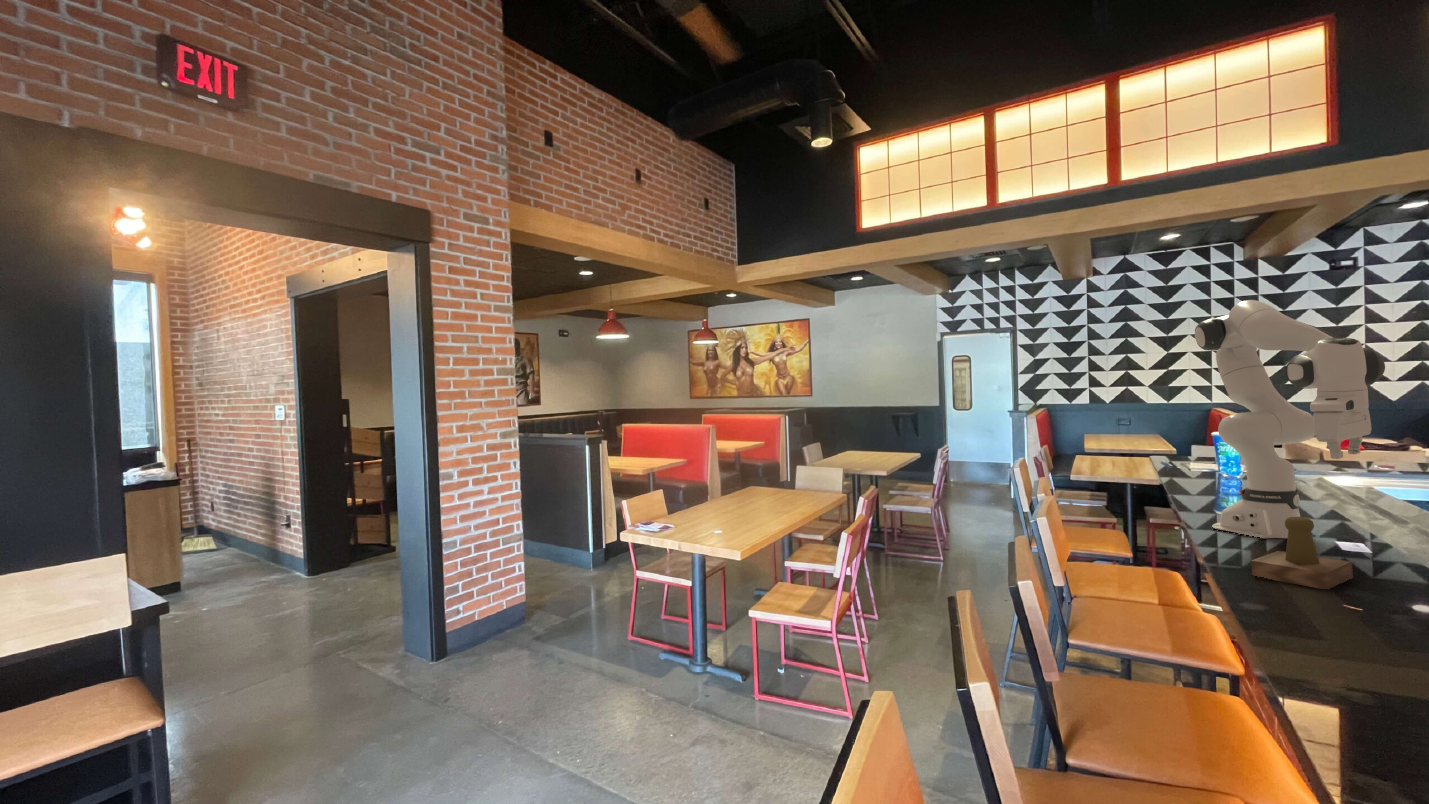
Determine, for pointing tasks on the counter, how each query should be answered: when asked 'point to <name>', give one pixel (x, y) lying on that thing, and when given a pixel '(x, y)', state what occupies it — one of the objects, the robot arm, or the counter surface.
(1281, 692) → the counter surface
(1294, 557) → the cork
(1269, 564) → the walnut riser block
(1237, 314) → the robot arm
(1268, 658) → the counter surface
